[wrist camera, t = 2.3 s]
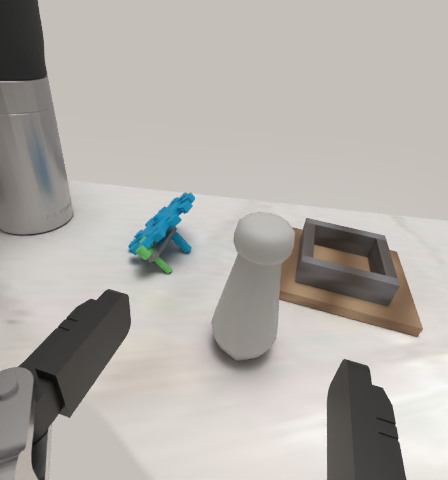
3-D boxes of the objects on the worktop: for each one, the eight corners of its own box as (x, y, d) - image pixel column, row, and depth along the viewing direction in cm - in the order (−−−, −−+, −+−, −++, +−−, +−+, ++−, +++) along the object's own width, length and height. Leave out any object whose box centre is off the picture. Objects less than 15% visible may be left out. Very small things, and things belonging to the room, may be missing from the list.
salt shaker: (247, 384, 25) (281, 259, 18) (196, 343, 28) (208, 219, 21) (283, 341, 29) (323, 224, 22) (235, 308, 32) (256, 195, 25)
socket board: (263, 294, 34) (271, 265, 32) (279, 231, 45) (285, 206, 43) (417, 336, 31) (437, 307, 29) (393, 258, 43) (406, 233, 40)
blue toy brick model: (150, 210, 43) (198, 176, 37) (178, 239, 45) (228, 211, 40) (105, 263, 35) (158, 231, 29) (143, 296, 37) (198, 272, 31)
